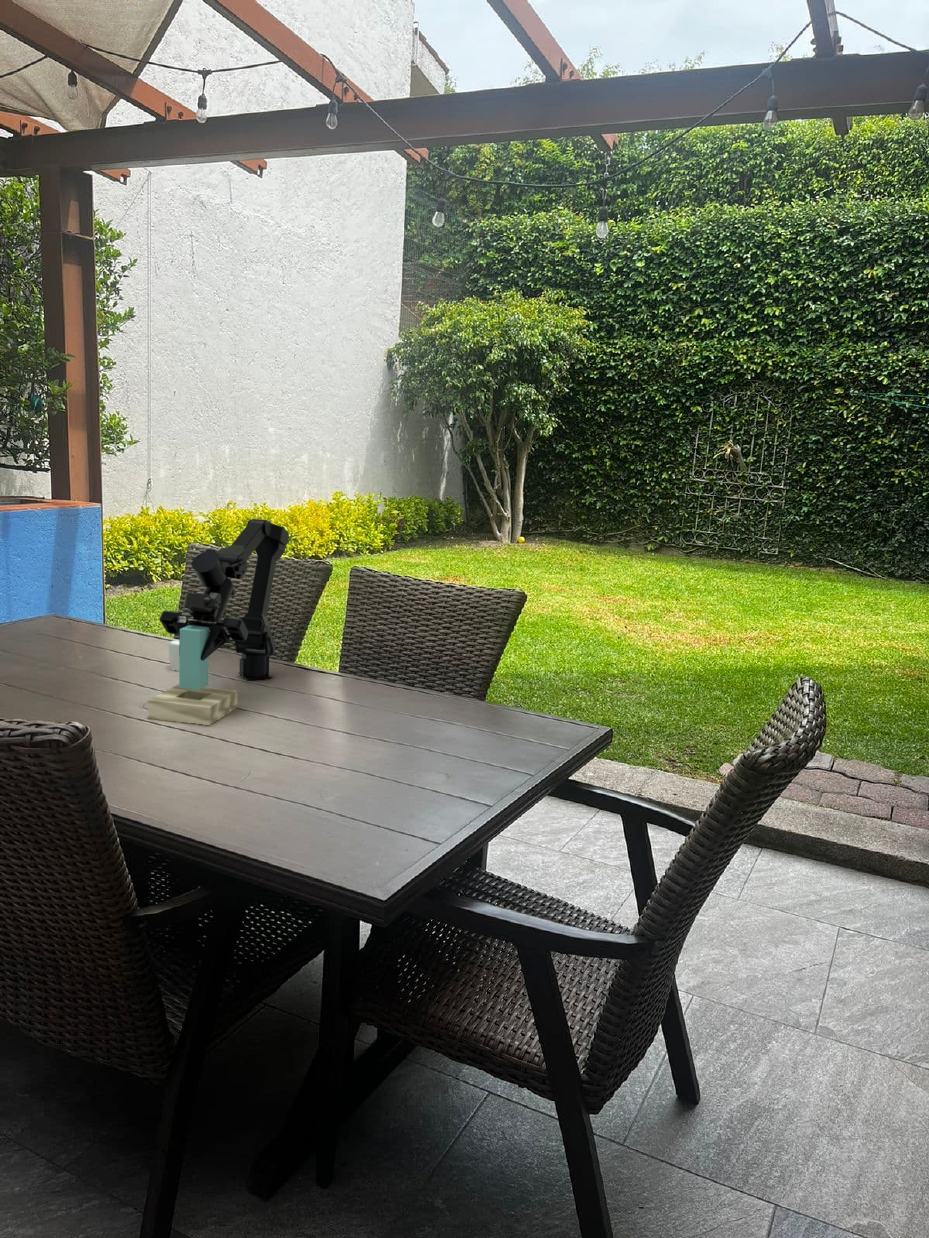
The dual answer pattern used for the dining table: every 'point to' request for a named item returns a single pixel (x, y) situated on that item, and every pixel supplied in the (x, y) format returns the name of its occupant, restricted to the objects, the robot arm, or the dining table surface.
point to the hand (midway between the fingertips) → (191, 658)
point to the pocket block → (192, 705)
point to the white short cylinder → (174, 654)
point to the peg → (193, 657)
